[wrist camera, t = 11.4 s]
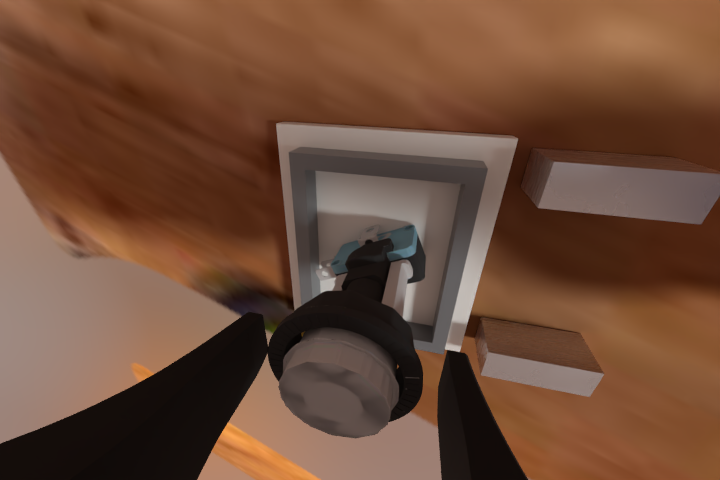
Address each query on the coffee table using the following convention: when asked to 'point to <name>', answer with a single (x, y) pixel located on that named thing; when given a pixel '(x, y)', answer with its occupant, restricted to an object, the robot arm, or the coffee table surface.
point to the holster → (597, 196)
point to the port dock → (396, 210)
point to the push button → (354, 339)
